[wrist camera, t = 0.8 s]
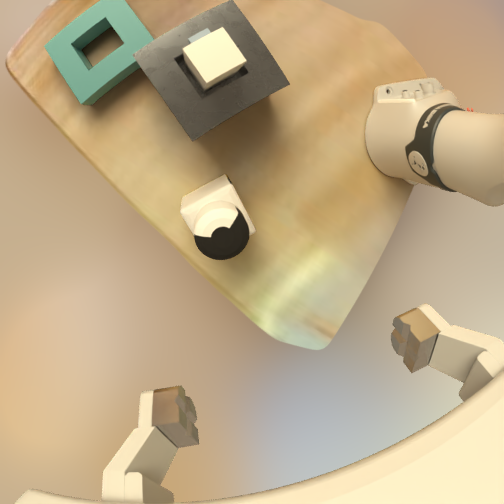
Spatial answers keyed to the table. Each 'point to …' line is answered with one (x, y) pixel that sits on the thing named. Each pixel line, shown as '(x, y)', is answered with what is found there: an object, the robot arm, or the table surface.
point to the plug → (212, 58)
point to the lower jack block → (111, 67)
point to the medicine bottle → (217, 219)
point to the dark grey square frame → (223, 95)
